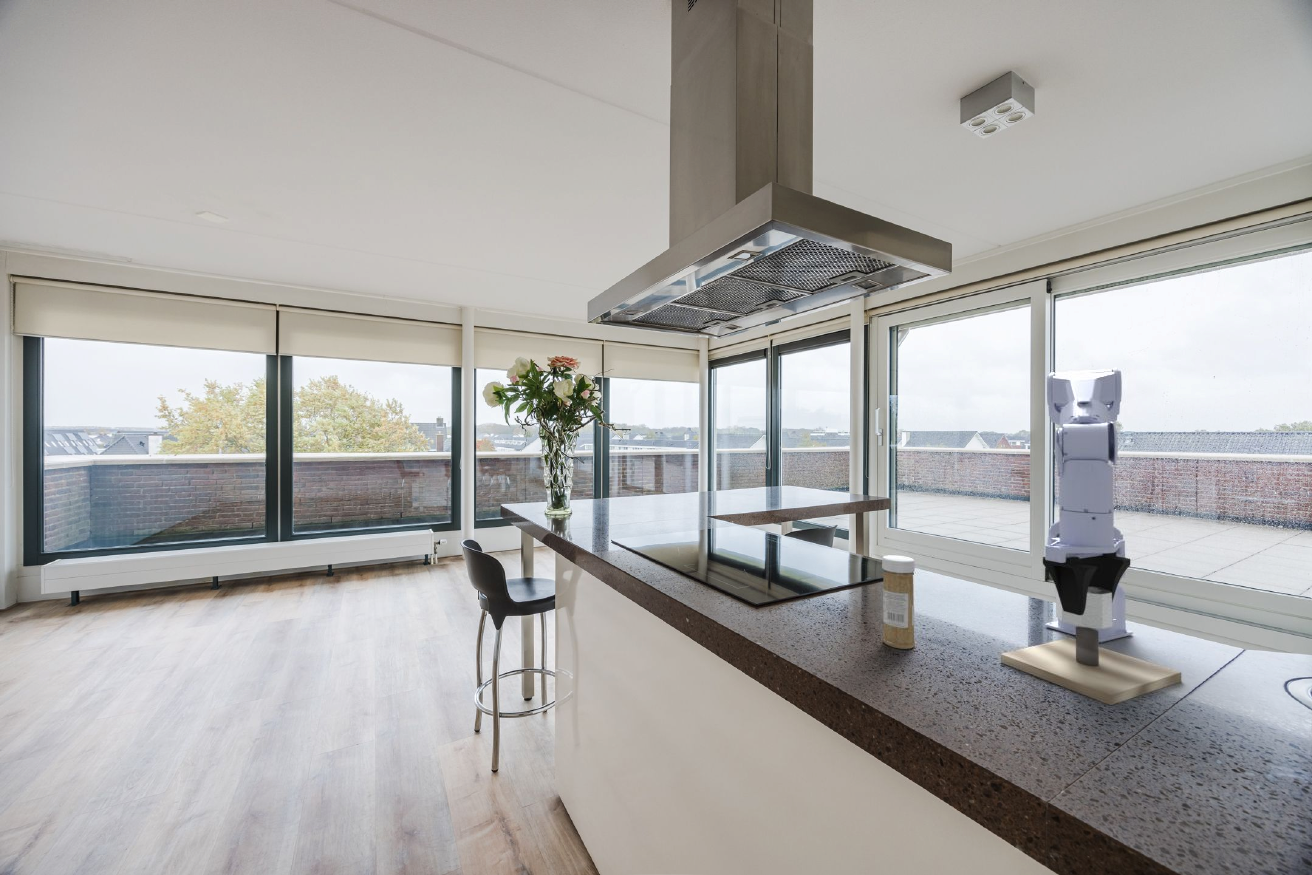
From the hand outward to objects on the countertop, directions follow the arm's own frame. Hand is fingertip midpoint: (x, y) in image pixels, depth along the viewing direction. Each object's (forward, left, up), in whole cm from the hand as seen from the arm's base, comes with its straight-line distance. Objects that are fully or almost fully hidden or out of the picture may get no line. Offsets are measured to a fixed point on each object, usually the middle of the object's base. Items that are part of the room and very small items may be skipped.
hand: (1086, 610), depth 70 cm
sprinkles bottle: (+16, -17, -9) cm, 25 cm away
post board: (0, 0, -8) cm, 8 cm away
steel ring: (0, 0, -2) cm, 2 cm away
